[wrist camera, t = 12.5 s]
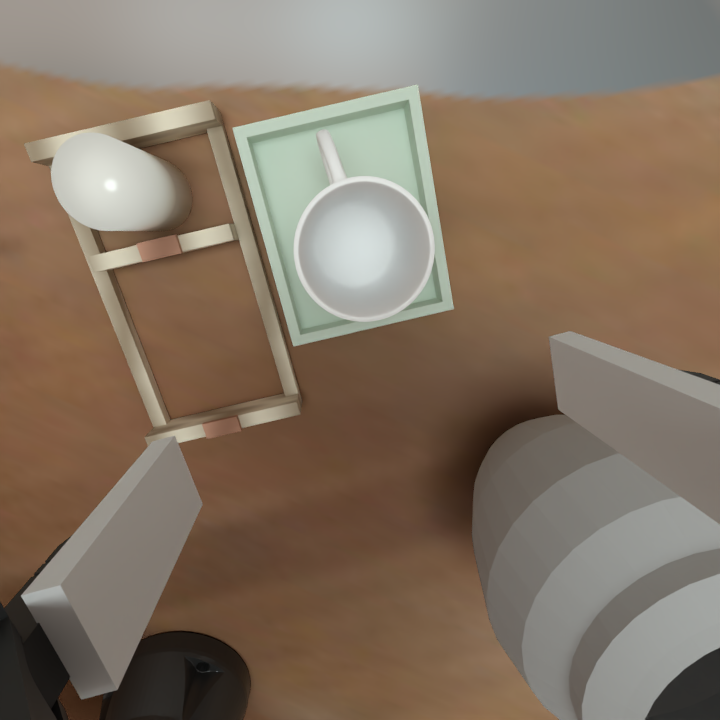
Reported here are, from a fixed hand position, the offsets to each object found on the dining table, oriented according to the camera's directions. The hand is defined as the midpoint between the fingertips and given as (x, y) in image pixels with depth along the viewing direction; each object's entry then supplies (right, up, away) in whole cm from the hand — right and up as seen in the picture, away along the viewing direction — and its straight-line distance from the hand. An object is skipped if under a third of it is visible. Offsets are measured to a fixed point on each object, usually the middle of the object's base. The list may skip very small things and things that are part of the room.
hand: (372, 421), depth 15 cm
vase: (+17, -8, +29) cm, 34 cm away
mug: (-1, +13, +21) cm, 25 cm away
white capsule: (-17, +15, +20) cm, 30 cm away
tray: (-1, +13, +21) cm, 25 cm away
